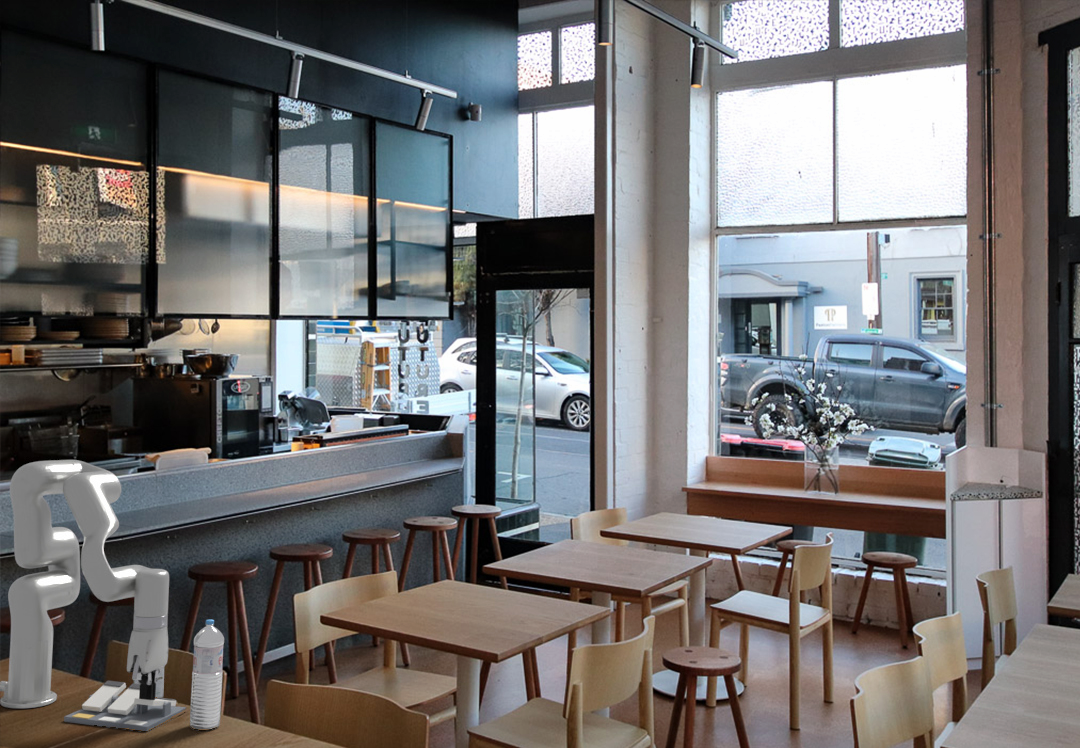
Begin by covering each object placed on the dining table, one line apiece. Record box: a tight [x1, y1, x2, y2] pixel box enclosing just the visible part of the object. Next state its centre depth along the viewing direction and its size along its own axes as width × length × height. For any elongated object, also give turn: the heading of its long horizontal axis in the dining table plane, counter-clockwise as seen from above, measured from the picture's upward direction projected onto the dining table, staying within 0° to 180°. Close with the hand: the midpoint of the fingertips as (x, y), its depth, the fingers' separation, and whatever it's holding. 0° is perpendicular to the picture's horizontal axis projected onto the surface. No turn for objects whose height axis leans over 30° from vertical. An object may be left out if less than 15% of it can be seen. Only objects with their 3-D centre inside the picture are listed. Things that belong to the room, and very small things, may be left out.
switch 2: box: [134, 697, 177, 706], centre depth 247 cm, size 5×10×2 cm, turn 167°
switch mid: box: [108, 683, 140, 715], centre depth 249 cm, size 5×10×2 cm, turn 167°
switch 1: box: [81, 680, 127, 712], centre depth 250 cm, size 5×10×2 cm, turn 167°
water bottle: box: [189, 618, 225, 730], centre depth 243 cm, size 7×7×25 cm
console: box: [63, 693, 187, 732], centre depth 248 cm, size 22×16×4 cm
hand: (147, 700), depth 244 cm, fingers closed
